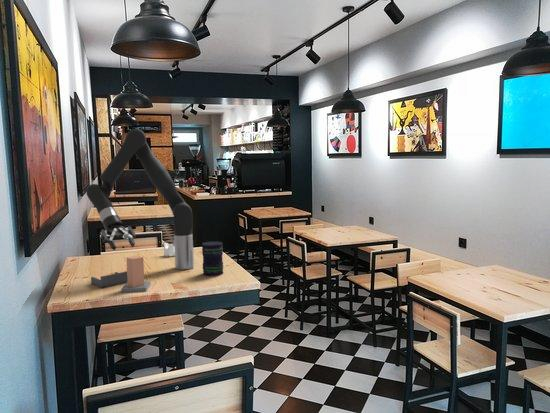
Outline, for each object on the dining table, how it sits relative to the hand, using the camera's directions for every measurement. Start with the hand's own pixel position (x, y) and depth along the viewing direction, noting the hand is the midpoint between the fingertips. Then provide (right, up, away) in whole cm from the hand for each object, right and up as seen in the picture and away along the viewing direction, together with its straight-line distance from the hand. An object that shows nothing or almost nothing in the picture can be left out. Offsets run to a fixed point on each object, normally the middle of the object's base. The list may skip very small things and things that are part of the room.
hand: (124, 247), depth 179 cm
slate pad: (+7, -17, -5) cm, 19 cm away
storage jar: (+36, -15, +18) cm, 43 cm away
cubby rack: (-8, -16, +4) cm, 19 cm away
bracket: (+8, -11, +63) cm, 65 cm away
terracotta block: (+7, -15, -5) cm, 18 cm away
